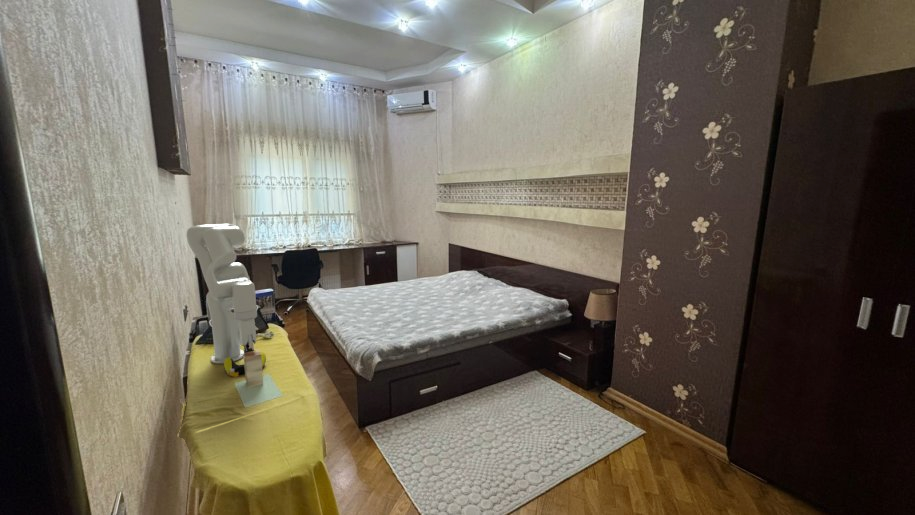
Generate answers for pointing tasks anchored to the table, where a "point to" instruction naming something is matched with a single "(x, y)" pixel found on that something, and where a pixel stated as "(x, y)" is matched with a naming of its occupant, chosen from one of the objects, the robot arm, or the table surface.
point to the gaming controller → (238, 366)
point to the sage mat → (258, 391)
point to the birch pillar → (253, 368)
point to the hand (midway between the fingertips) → (249, 359)
